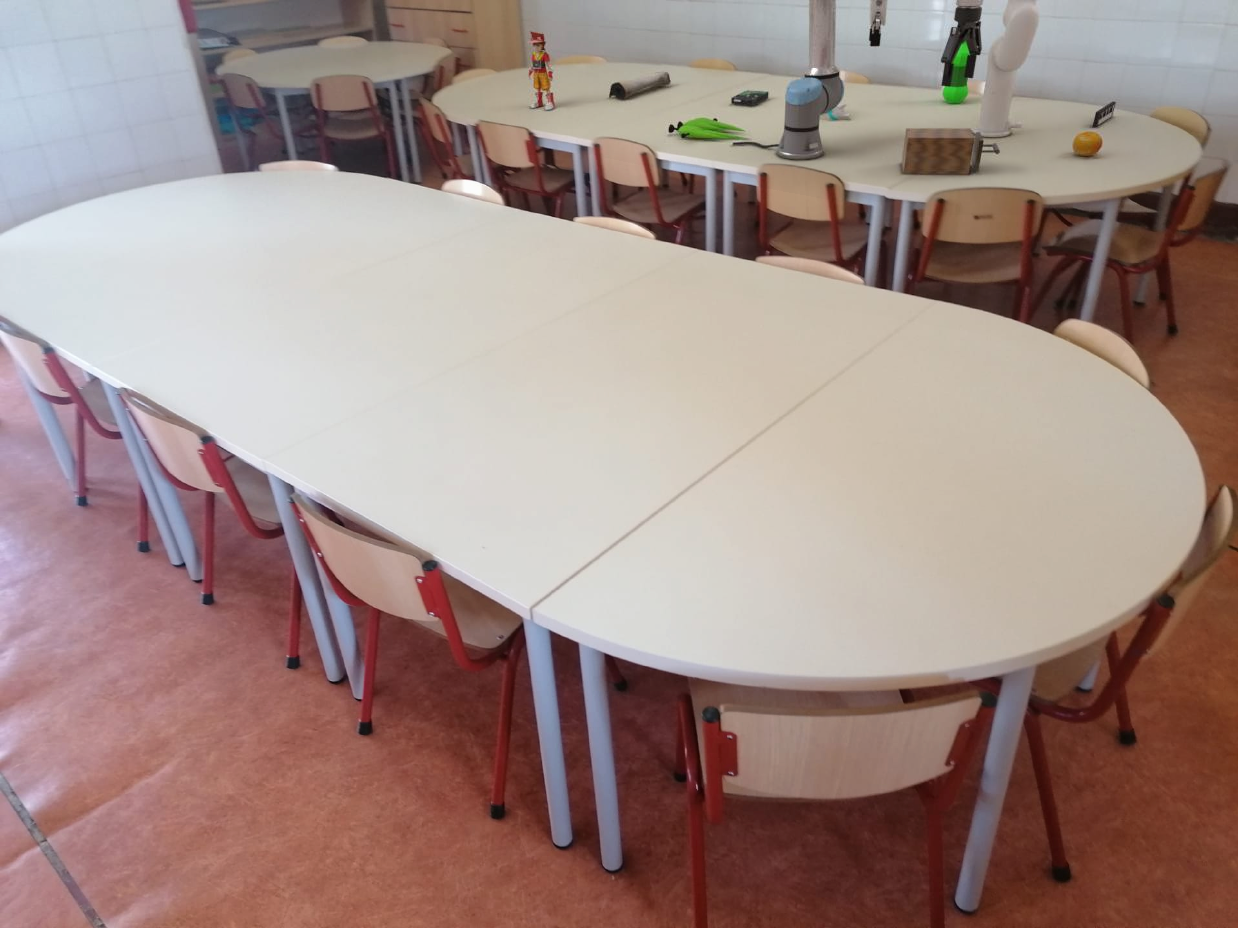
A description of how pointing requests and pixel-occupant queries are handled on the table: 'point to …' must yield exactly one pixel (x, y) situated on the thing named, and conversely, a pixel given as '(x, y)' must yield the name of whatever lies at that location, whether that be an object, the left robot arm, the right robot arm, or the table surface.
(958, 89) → the plastic bottle
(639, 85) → the rolled mat
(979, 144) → the drawer
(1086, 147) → the fruit
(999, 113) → the right robot arm
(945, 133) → the cabinet
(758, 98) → the disk drive
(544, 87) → the toy
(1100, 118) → the midi keyboard
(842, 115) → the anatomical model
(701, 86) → the table surface
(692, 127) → the toy
